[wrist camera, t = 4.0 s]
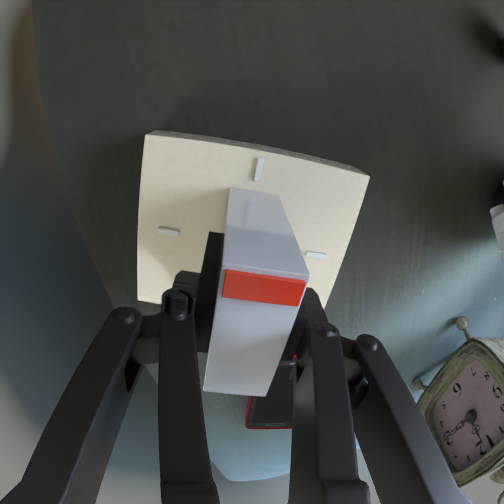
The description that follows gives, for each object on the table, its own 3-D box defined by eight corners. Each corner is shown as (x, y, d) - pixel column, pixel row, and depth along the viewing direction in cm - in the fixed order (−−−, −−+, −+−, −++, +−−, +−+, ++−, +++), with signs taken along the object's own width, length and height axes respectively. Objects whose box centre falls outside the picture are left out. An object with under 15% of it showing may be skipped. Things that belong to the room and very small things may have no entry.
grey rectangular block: (256, 291, 21) (266, 400, 13) (213, 285, 21) (202, 395, 13) (278, 195, 18) (312, 279, 10) (229, 187, 18) (222, 266, 10)
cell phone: (244, 423, 35) (244, 429, 34) (256, 348, 28) (257, 355, 27) (302, 422, 35) (303, 428, 34) (333, 348, 29) (335, 355, 28)
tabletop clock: (457, 303, 27) (570, 482, 5) (496, 309, 29) (591, 449, 7) (397, 389, 34) (455, 548, 12) (440, 386, 35) (499, 519, 13)
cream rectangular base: (146, 279, 24) (136, 301, 21) (157, 130, 19) (143, 134, 16) (310, 302, 26) (318, 325, 23) (354, 166, 20) (371, 177, 18)
